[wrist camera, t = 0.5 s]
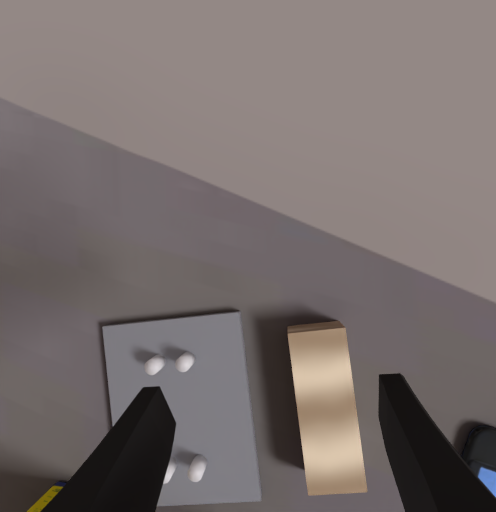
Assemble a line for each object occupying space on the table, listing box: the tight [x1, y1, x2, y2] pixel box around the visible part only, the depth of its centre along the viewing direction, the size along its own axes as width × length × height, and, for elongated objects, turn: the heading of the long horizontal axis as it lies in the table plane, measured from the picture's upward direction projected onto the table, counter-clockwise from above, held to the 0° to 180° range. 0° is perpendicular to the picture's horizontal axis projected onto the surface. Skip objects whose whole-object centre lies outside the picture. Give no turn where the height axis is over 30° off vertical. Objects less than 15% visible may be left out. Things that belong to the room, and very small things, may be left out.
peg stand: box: [102, 311, 262, 506], centre depth 34 cm, size 18×14×3 cm
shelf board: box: [287, 321, 367, 495], centre depth 32 cm, size 14×5×4 cm, turn 7°
